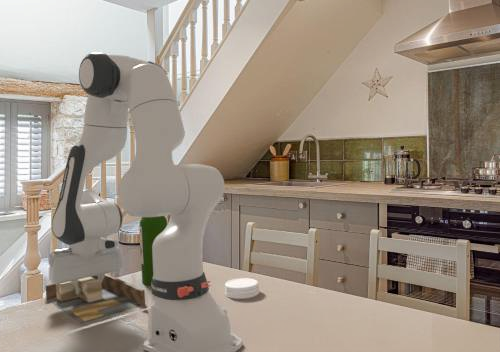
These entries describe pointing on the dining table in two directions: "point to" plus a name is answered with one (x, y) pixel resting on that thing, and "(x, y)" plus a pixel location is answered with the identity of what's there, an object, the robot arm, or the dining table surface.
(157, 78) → the robot arm
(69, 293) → the oak L block
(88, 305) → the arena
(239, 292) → the coaster
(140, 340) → the dining table surface
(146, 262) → the wine bottle
